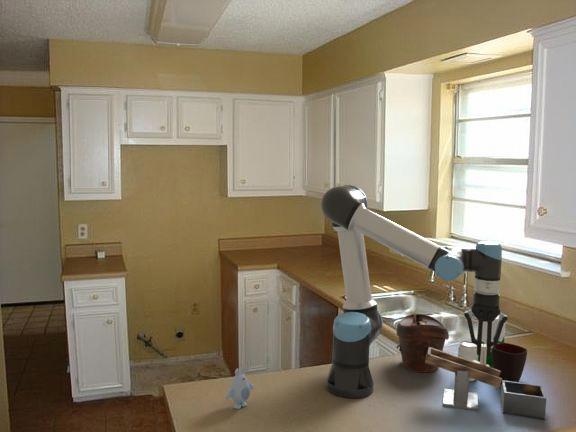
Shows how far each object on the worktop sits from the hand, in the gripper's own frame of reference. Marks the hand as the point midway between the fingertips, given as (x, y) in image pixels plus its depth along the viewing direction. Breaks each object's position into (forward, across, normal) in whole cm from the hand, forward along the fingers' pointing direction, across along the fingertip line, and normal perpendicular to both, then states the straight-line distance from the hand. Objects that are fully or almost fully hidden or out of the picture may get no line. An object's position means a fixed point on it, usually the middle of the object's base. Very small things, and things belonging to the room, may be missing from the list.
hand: (482, 365), depth 171 cm
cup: (+10, +10, +14) cm, 20 cm away
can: (+10, -4, +12) cm, 16 cm away
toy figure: (+9, -68, -34) cm, 77 cm away
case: (+10, -20, +18) cm, 29 cm away
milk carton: (+10, +4, +30) cm, 32 cm away
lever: (0, -6, -3) cm, 7 cm away
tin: (+10, +11, -7) cm, 16 cm away
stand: (+10, -6, -7) cm, 13 cm away
